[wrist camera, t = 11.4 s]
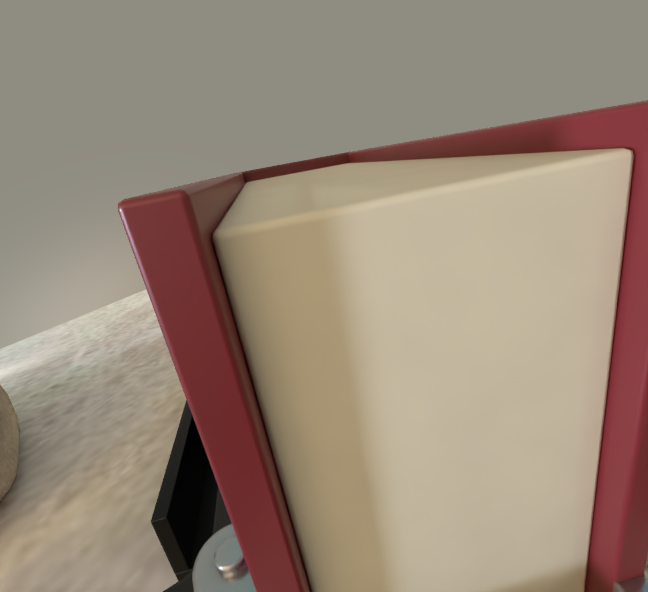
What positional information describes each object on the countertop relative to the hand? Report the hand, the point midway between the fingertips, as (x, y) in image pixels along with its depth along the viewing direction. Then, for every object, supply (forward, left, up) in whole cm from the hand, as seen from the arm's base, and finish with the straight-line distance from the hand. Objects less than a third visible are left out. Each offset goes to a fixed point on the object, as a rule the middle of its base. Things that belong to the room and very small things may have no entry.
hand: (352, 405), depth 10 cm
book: (+1, +1, -8) cm, 9 cm away
